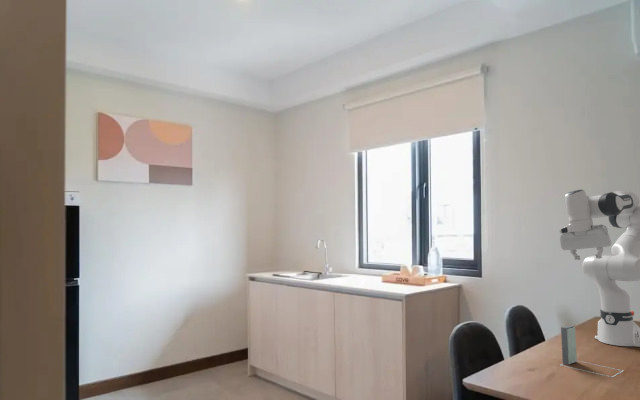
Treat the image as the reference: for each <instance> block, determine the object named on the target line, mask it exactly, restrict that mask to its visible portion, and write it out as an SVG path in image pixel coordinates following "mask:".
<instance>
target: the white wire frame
mask: <svg viewBox="0 0 640 400" xmlns="http://www.w3.org/2000/svg"><path fill="white" fill-rule="evenodd" d="M578 362H579V363H584V364H589V365H593V366H598V367H602V368H607V369H612V370H617V371H619V372H618V373H616V374H615V375H613V376H610V375H605V374H602V373H598V372H593V371H589V370H584V369H581V368H580V369H579V368H575V367H572V366H568V365H567V366H566V365H564V364H563V363H561V364H559V366H561V367H564V368H565V367H566V368H570V369H575V370H579V371H581V372H587V373H590V374H596V375H600V376H603V377H608V378H612V379H613V378H614V377H616V376H617V375H620V374H622V373H623V372H624V370H623V369H618V368H613V367H608V366H604V365H599V364H595V363H592V362H591V363H590V362H587V361H586V362H585V361H581V360H578Z"/></svg>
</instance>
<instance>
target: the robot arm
mask: <svg viewBox="0 0 640 400" xmlns="http://www.w3.org/2000/svg"><path fill="white" fill-rule="evenodd" d="M564 202H565V208H566V209H565V210H566V214H567V215H568V224H567V225H566V226H563V227H561V228H560V229H558V231H559V234H560V237H559V241H560V242H559V243H560V248H561V249H562V251H570V254H571V255H572V256H573V258H574V260H575V261H581V256H580V255H578V253H577V250H584V249H595V248H596V251H597V253H596V254H595V255H590V256H587V257H585V259H584V260H583V261H582V270H583V273H584V274H585V275H586V276H587V277H588V278H590V279H591V281H592V282H593V283H594V284H595V285H596V288H597V290H598V292H599V298H600V299H599V300H600V311H599V315H600V319H599V320H598V321H597V335H594V339H595V340H598V341H599V342H601V343H603V344H608V345H611V346H612V345H613V346H619V347H639V348H640V326H639V325H638V324H637V323H636V322H635V321H634V316H635V312H634V310H631V301H630V300H631V299H630V294H629V293H628V292H627V291H626V290H625V289H624V288H623V289H622V288H621V287H619V285H618V283H617V282H616V281H620V282H637V281H638V282H639V281H640V258H639V257H640V205H639V204H640V198H639V196H638V195H637V193H635V192H633V191H627V190H616V191H610V192H608V193H604V194H598V195H593V196H589V195H587V193H586V190H584V189H574V190H571V191H569V192H566V194H565V197H564ZM606 217H608V222H609V223H610V225H611V226H612V227H613V228H618V229H626V230H625V231H624V232H623V233H622V234H621V235H620V236H619V237H618V238H617V239H616V240H615V242H614V244H613V245H612V241H611V238H610V234H609V230H608V227H607V226H606V225H603V224H595V225H594V221H593V220H594V219H601V218H606ZM611 245H612V246H611ZM610 246H611V248H610V249H611V250H610V252H611V255H603V254H602V253H603V251H604V248H607V247H610Z"/></svg>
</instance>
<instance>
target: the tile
mask: <svg viewBox="0 0 640 400" xmlns="http://www.w3.org/2000/svg"><path fill="white" fill-rule="evenodd" d="M560 330H561V331H560V332H561V336H560V337H561V354H562V358H561V359H562V364H563V365H565V366H566V365H567V366H568V365H571V364H574V363H576V362H578V359H577V357H578V355H577V337H576V327H575V325H572V324H568V325H563V326H561V327H560Z"/></svg>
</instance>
